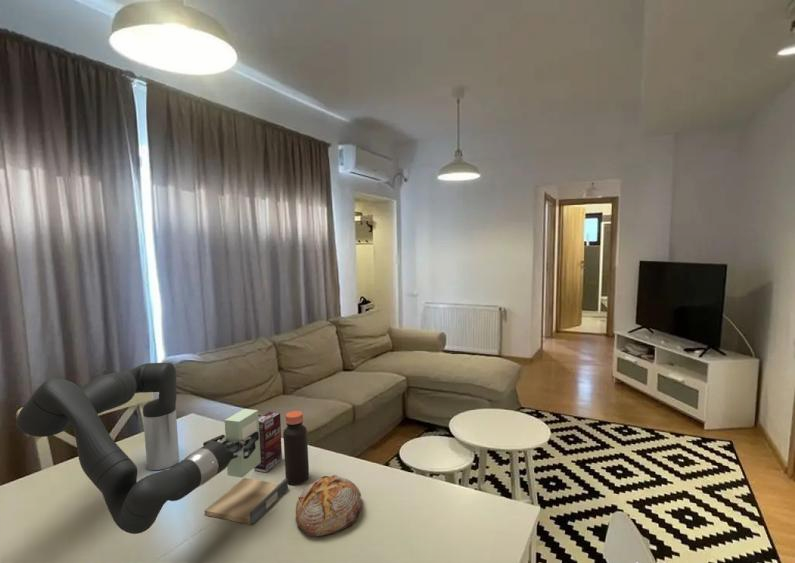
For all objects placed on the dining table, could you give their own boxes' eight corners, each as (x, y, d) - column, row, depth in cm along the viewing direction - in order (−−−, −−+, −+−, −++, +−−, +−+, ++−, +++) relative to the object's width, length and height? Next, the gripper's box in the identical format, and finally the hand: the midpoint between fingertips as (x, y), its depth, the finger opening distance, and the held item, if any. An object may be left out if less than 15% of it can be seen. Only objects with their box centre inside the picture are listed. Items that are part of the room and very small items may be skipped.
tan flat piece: (204, 514, 108) (203, 503, 108) (244, 481, 124) (243, 472, 123) (253, 524, 104) (253, 513, 104) (288, 489, 119) (288, 479, 119)
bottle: (298, 470, 129) (295, 408, 127) (314, 477, 125) (310, 412, 123) (281, 481, 124) (277, 415, 122) (296, 488, 120) (292, 420, 118)
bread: (283, 540, 100) (278, 500, 99) (316, 492, 119) (312, 459, 118) (348, 545, 96) (343, 503, 96) (371, 495, 115) (368, 460, 115)
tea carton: (227, 475, 110) (224, 419, 109) (247, 460, 118) (244, 408, 116) (242, 477, 109) (239, 421, 108) (260, 462, 116) (258, 410, 115)
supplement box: (266, 473, 128) (263, 423, 127) (253, 470, 130) (250, 421, 129) (283, 459, 136) (281, 412, 135) (271, 457, 138) (268, 411, 137)
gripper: (180, 475, 101) (228, 444, 118) (229, 484, 97) (272, 450, 113) (178, 445, 101) (227, 418, 117) (228, 452, 96) (271, 423, 113)
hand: (249, 434), depth 115 cm, fingers closed on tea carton, 4 cm apart
